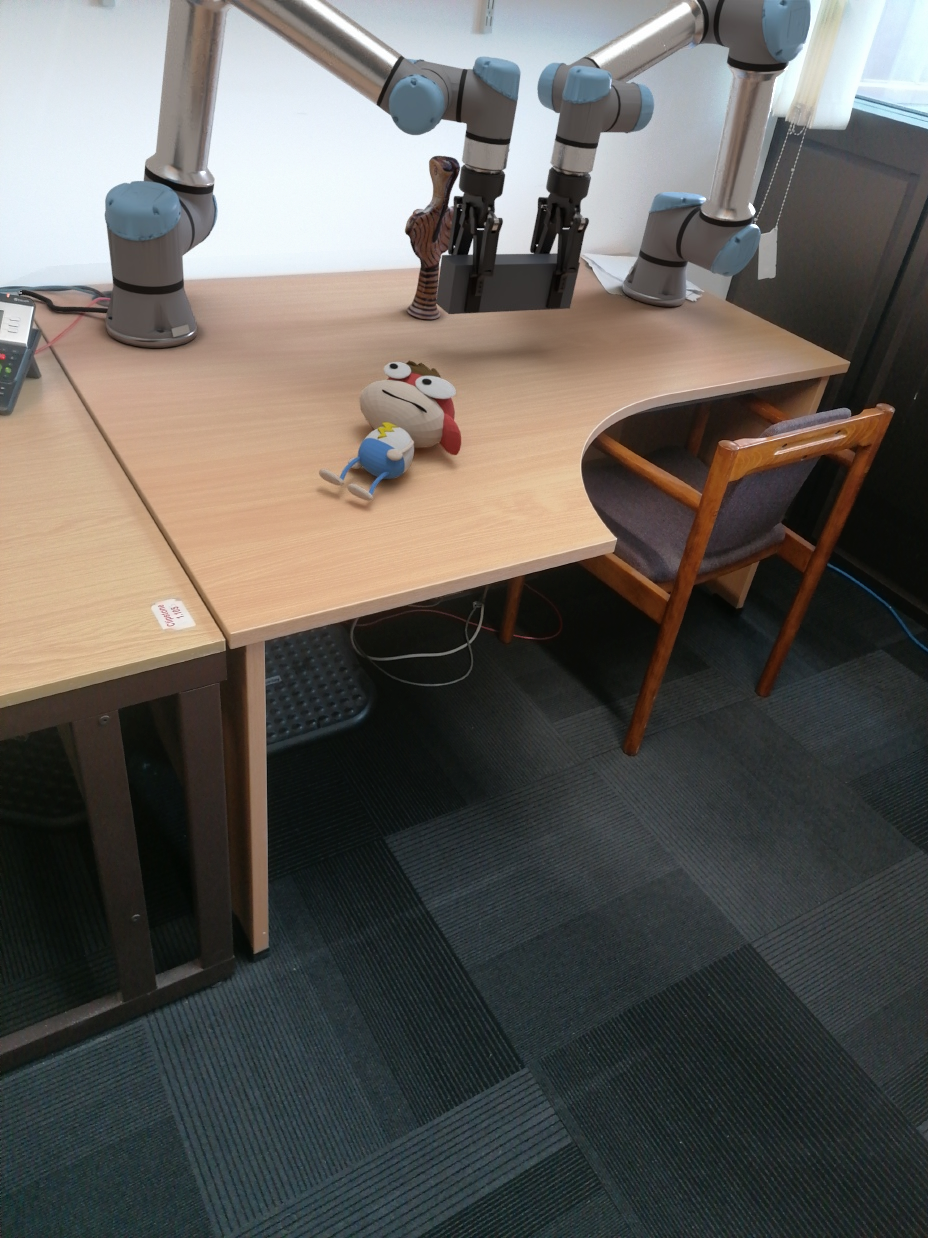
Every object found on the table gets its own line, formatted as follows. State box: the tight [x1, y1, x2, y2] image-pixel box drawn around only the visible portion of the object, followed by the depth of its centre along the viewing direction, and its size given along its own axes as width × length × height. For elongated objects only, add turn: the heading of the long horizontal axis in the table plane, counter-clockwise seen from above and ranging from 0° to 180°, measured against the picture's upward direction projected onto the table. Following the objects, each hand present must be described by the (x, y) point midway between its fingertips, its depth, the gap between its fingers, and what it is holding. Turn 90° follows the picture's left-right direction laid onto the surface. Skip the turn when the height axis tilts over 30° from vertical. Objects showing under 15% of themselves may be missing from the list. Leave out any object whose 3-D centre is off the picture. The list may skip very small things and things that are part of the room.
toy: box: [318, 360, 462, 502], centre depth 133 cm, size 18×10×30 cm
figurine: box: [404, 155, 461, 320], centre depth 174 cm, size 15×8×30 cm, turn 144°
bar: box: [436, 252, 581, 315], centre depth 164 cm, size 26×5×9 cm, turn 118°
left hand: (463, 305), depth 162 cm, fingers closed on bar, 5 cm apart
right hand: (544, 301), depth 170 cm, fingers closed on bar, 5 cm apart
